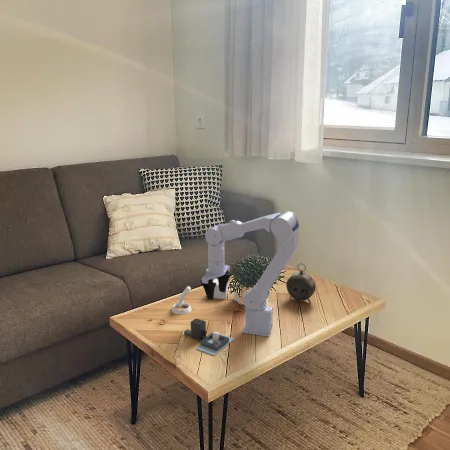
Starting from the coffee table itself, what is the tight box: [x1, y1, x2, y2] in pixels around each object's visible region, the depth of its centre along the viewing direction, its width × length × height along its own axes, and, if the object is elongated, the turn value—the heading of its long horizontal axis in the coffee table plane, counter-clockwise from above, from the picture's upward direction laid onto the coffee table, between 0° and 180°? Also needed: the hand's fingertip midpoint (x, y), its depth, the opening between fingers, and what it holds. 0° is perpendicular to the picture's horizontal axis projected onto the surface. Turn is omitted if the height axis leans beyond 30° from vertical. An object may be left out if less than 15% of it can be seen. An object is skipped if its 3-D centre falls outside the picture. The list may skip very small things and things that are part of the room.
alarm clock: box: [286, 263, 316, 304], centre depth 182 cm, size 11×5×16 cm, turn 58°
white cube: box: [212, 278, 230, 300], centre depth 189 cm, size 6×6×6 cm
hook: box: [170, 285, 192, 315], centre depth 176 cm, size 8×12×7 cm
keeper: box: [195, 331, 235, 356], centre depth 153 cm, size 7×12×4 cm, turn 146°
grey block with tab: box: [183, 318, 229, 350], centre depth 155 cm, size 16×7×6 cm, turn 56°
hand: (216, 295), depth 166 cm, fingers open, 7 cm apart
